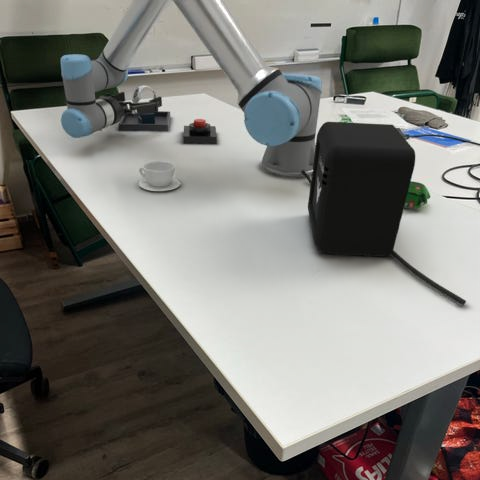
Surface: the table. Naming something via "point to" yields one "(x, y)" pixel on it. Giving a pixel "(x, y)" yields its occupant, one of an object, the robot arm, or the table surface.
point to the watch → (136, 97)
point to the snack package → (416, 195)
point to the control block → (199, 134)
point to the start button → (199, 122)
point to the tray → (134, 125)
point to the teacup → (158, 176)
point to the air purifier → (359, 188)
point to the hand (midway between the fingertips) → (142, 98)
